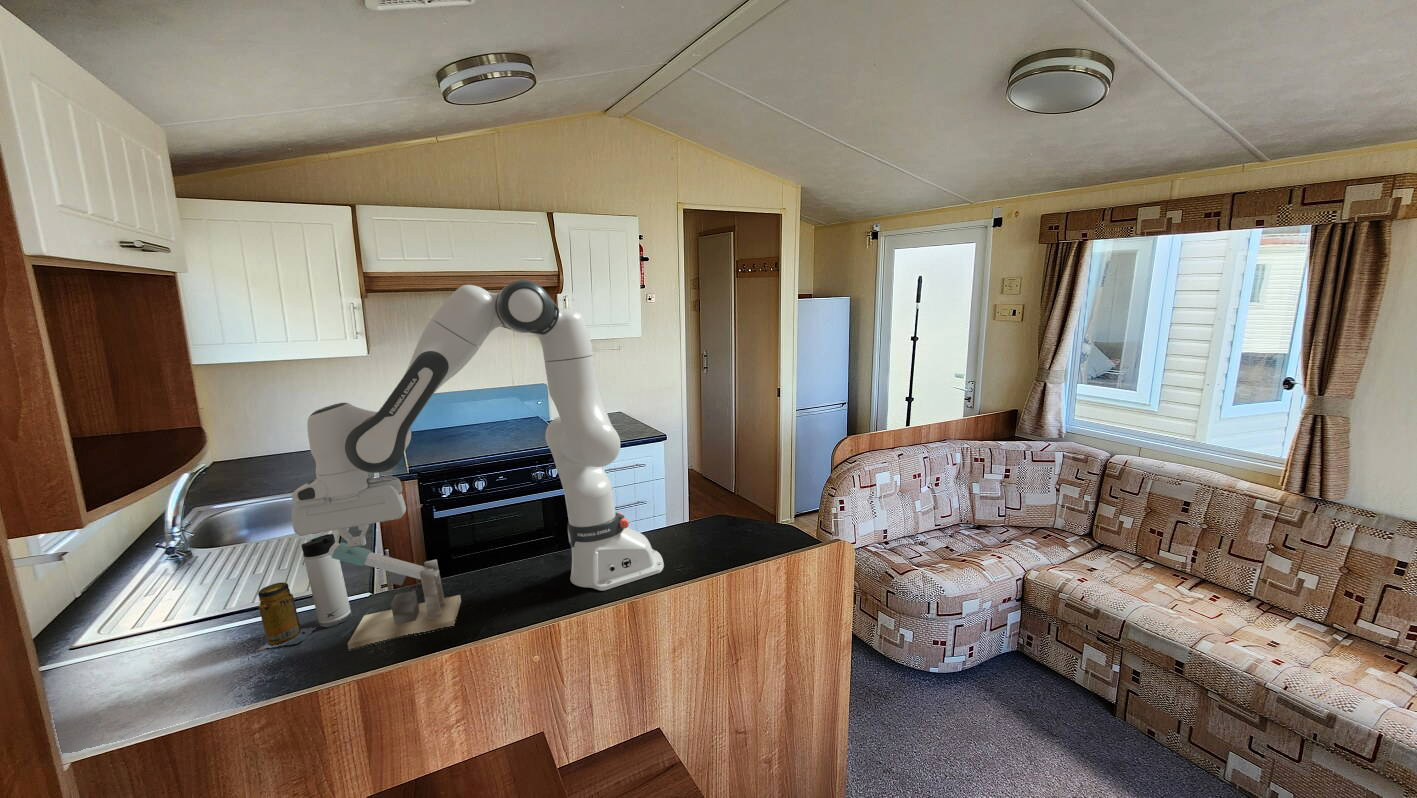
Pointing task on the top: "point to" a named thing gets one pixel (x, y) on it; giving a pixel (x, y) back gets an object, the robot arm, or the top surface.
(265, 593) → the condiment
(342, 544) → the press lever
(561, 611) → the top surface
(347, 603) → the travel mug
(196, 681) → the top surface
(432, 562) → the press base
